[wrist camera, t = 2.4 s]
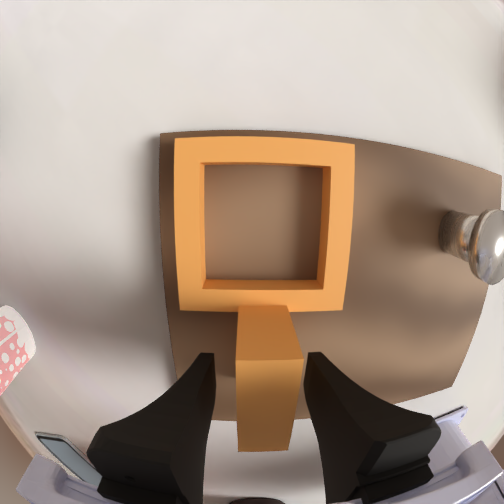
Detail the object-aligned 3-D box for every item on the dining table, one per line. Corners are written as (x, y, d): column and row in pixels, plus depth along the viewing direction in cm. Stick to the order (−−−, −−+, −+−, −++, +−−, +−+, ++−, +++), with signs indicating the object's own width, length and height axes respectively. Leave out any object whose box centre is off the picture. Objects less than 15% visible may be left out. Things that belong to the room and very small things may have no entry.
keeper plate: (447, 381, 15) (451, 386, 15) (187, 409, 15) (185, 417, 14) (493, 175, 12) (501, 175, 11) (165, 136, 11) (160, 133, 10)
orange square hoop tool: (321, 375, 14) (345, 442, 9) (193, 376, 13) (177, 446, 9) (344, 147, 11) (405, 128, 6) (181, 142, 11) (137, 116, 6)
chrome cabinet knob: (466, 262, 12) (508, 282, 8) (427, 262, 12) (473, 287, 8) (473, 204, 11) (519, 214, 8) (434, 198, 11) (485, 206, 8)
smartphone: (63, 437, 17) (146, 506, 20) (67, 431, 18) (148, 500, 21) (32, 433, 17) (108, 500, 20) (35, 428, 18) (109, 495, 21)
